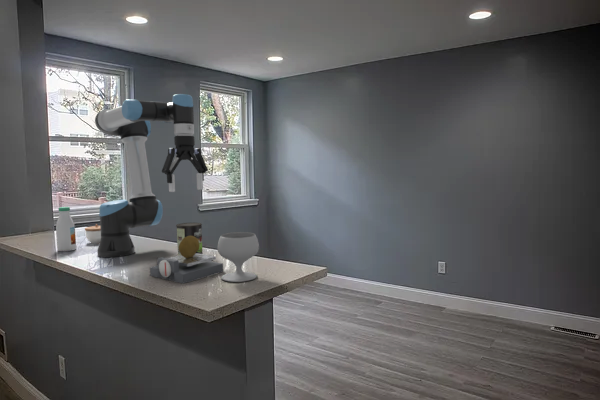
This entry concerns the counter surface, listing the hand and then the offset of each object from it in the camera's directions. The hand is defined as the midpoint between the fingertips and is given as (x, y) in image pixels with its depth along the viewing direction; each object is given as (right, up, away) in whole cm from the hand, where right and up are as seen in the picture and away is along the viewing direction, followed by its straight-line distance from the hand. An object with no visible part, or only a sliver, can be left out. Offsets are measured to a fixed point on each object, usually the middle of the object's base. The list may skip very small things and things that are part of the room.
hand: (186, 190), depth 168 cm
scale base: (+4, -30, -13) cm, 33 cm away
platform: (+4, -25, -12) cm, 29 cm away
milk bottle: (-64, -27, +33) cm, 77 cm away
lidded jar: (-58, -25, +51) cm, 81 cm away
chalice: (+23, -31, -20) cm, 43 cm away
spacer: (+7, -29, +2) cm, 30 cm away
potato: (+4, -25, -12) cm, 28 cm away
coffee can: (-2, -28, +13) cm, 31 cm away
